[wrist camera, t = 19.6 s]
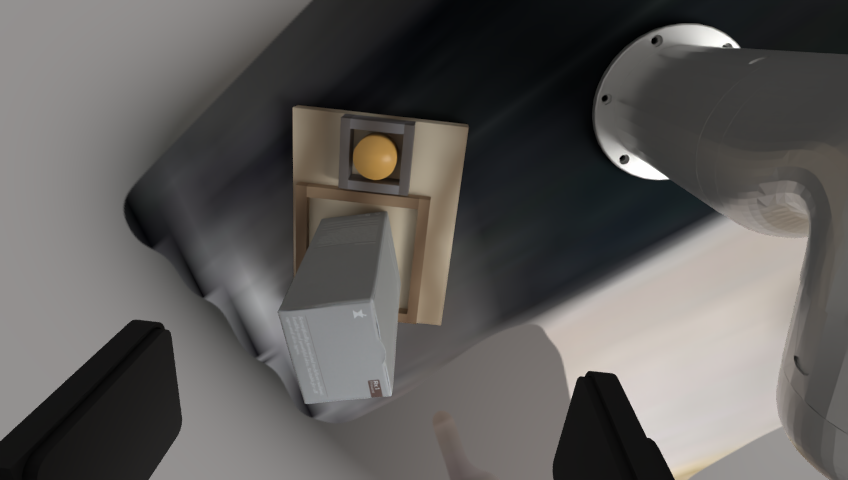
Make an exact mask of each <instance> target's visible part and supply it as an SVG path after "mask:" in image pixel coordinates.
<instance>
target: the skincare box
mask: <svg viewBox="0 0 848 480" xmlns="http://www.w3.org/2000/svg"><path fill="white" fill-rule="evenodd" d="M400 287H401V281H400V276H399V270H398V264H397V259H396V253H395V248H394V242H393V237H392V231H391V226H390V221H389V216H388V212H387V211H382V212H374V213H366V214H358V215H350V216H341V217H333V218H324V219H321V221H320V224H319V226H318V228H317V230H316V232H315V234H314V237H313V239H312V241H311V243H310V245H309V247H308V249H307V251H306V253H305V256H304V258H303V260H302V262H301V264H300V266H299V268H298V271H297V273H296V275H295V277H294V279H293V281H292V283H291V285H290V288H289V290H288V292H287V294H286V296H285V298H284V300H283V302H282V305H281V307H280V309H279V310H278V315H279V318H280V321H281V325H282V329H283V332H284V336H285V339H286V343H287V346H288V350H289V353H290V357H291V360H292V364H293V367H294V370H295V373H296V377H297V380H298V383H299V386H300V389H301V393H302V396H303V399H304V402H305V404H311V403H321V402H331V401H341V400H352V399H363V398H374V397H386V396H391V395H392V390H393V379H394V365H395V352H396V336H397V323H398V310H399V297H400Z"/></svg>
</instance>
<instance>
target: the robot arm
mask: <svg viewBox="0 0 848 480" xmlns="http://www.w3.org/2000/svg"><path fill="white" fill-rule="evenodd" d="M653 37H654V38H655V39H656V41H655V43H654V44H652V43H651V40H652V38H653ZM722 46H723V47H722ZM604 95H606V100H605V101H602V97H603V96H604ZM592 121H593V129H594V133H595V136H596V139H597V142H598V144H599V146H600V147H601V149H602V151H603V153H604V154H605V155H606V156H607V157H608V158H609V159H610V160H611V162H612V163H614V164H615V165H616V166H617V167H619V168H620V169H622V170H624V171H625V172H627V173H629V174H631V175H634V176H637V177H640V178H643V179H651V180H668V179H670V180H672V181H673V182H675V183H676V184H678V185H679V186H681V187H682V188H684V189H685V190H687V191H688V192H690V193H691V194H693V195H694V196H696V197H697V198H699V199H700V200H702V201H703V202H705V203H706V204H708V205H709V206H711V207H712V208H714V209H715V210H717V211H718V212H720V213H721V214H723V215H725V216H726V217H728V218H729V219H731V220H732V221H734V222H736V223H737V224H739V225H741V226H743V227H745V228H747V229H749V230H752V231H755V232H758V233H761V234H765V235H769V236H776V237H787V238H804V237H808V241H807V248H806V253H805V257H804V261H803V265H802V269H801V274H800V285H799V289H798V293H797V297H796V302H795V306H794V310H793V314H792V318H791V322H790V326H789V330H788V334H787V339H786V343H785V347H784V351H783V355H782V362H781V366H780V370H779V377H778V383H777V391H776V400H777V409H778V414H779V418H780V421H781V423H782V426H783V429H784V431H785V433H786V435H787V436H788V438H789V439H790V441H791V442H792V444H793V445H794V446H795V448H796V449H797V450H798V452H799V453H800V454H801V455H802V456H803V457H804V458H805V459H806V460H807V461H808V462H809V463H810V464H811V465H812V466H813V467H814V468H815V469H817V470H818V471H819V472H820V473H822V474H823V475H824V476H825V477H827V478H828V479H829V480H848V55H844V54H828V53H809V52H793V51H777V50H761V49H746V48H740V46H739V45H738V44H737V42H736V41H734V40H733V39H732V38H731V37H730V36H728V35H727V34H726V33H724V32H722V31H720V30H718V29H716V28H714V27H711V26H706V25H702V24H694V23H682V24H672V25H667V26H663V27H660V28H657V29H653V30H651V31H649V32H647V33H645V34H643V35H641V36H639V37H638V38H636V39H635V40H634V41H632V42H631V43H630V44H628V45H627V46H626V47H625V48H624V49H623V50H622V51H621V52H620V53H619V54H618V55H617V56H616V57H615V58H614V59H613V60H612V62H611V63H610V64H609V66H608V67H607V69H606V70H605V72H604V74H603V76H602V78H601V80H600V82H599V84H598V86H597V90H596V93H595V97H594V100H593V109H592ZM622 155H624V157H623V159H621V160H619V158H620V157H621V156H622ZM181 425H182V415H181V407H180V399H179V392H178V384H177V376H176V368H175V360H174V353H173V345H172V337H171V333H170V331H169V330H165V328H164V326H163V324H162V323H160V322H152V321H143V320H132V321H131V322H130V323H128V324H127V325H126V326H125V327H124V328H123V329H122V330H121V331H120V332H119V333H117V334H116V335H115V336H114V337H113V338H112V339H111V340H110V341H109V342H108V343H107V344H106V345H105V346H103V347H102V348H101V349H100V350H99V351H98V352H97V353H96V354H95V355H94V356H93V357H91V358H90V359H89V360H88V361H87V362H86V363H85V364H84V365H83V366H82V367H81V368H79V370H77V371H76V372H75V373H74V374H73V375H72V376H71V377H70V378H69V379H67V380H66V381H65V382H64V383H63V384H62V385H61V386H60V387H59V388H58V389H57V390H56V391H55V392H53V393H52V394H51V395H50V396H49V397H48V398H47V399H46V400H45V401H44V402H43V403H41V404H40V405H39V406H38V407H37V408H36V409H35V410H34V411H33V412H32V413H31V414H30V415H28V416H27V417H26V418H25V419H24V420H23V421H22V422H21V423H20V424H19V425H18V426H17V427H15V428H14V429H13V430H12V431H11V432H10V433H9V434H8V435H7V436H6V437H4V438H3V439H2V441H0V480H149V478H150V477H151V475H152V474H153V472H154V471H155V469H156V468H157V466H158V464H159V463H160V462H161V460H162V459H163V457H164V455H165V454H166V452H167V451H168V449H169V448H170V446H171V445H172V443H173V442H174V440H175V439H176V437H177V436H178V434H179V431H180V429H181ZM553 479H554V480H675V479H674V477H673V475H672V473H671V471H670V469H669V467H668V465H667V463H666V461H665V459H664V458H663V456H662V454H661V452H660V450H659V448H658V446H657V445H656V443H655V442H654V441H653V440H652V439H650V438H647V437H646V435H645V433H644V431H643V429H642V427H641V425H640V423H639V421H638V419H637V417H636V414H635V412H634V410H633V408H632V406H631V404H630V402H629V400H628V398H627V396H626V394H625V392H624V390H623V388H622V386H621V384H620V382H619V380H618V378H617V376H616V375H615V374H612V373H603V372H594V371H588V372H587V373H586V375H585V377H579V378H578V379H577V382H576V385H575V389H574V392H573V396H572V399H571V403H570V406H569V409H568V413H567V416H566V420H565V423H564V427H563V430H562V434H561V437H560V440H559V444H558V447H557V451H556V454H555V458H554V461H553Z"/></svg>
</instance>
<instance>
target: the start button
mask: <svg viewBox="0 0 848 480" xmlns="http://www.w3.org/2000/svg"><path fill="white" fill-rule="evenodd" d="M397 160H398V148H397V145H396V143H395V142H394V140H393V139H392V138H391V137H389V136H388V135H386V134H383V133H379V132H375V133H370V134H368V135H366V136H365V137H363V138H362V140H361V141H360V142H359V143H358V145H357V146H356V148H355V150H354V153H353V162H354V165H355V168H356V169H357V171H358V172H359V173H360V174H361V175H362V176H364V177H366V178H368V179H372V180H380V179H383V178H386V177H387V176H389V175H390V174H391V173H392V172H393V170H394V168H395V166H396V163H397Z"/></svg>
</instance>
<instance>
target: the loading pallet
mask: <svg viewBox="0 0 848 480" xmlns="http://www.w3.org/2000/svg"><path fill="white" fill-rule="evenodd" d="M468 128H469V127H468V124H460V123H452V122H443V121H434V120H425V119H416V118H408V117H399V116H390V115H381V114H372V113H364V112H355V111H346V110H337V109H328V108H320V107H311V106H302V105H297V106H295V107H293V244H294V277H295V275H296V273H297V271H298V268H299V266H300V264H301V262H302V260H303V258H304V256H305V253H306V251H307V249H308V247H309V245H310V243H311V241H312V239H313V237H314V234H315V232H316V230H317V228H318V226H319V224H320V221H321V219H324V218H333V217H341V216H350V215H358V214H366V213H374V212H382V211H387V212H388V216H389V221H390V226H391V231H392V237H393V242H394V248H395V253H396V259H397V264H398V270H399V276H400V281H401V287H400V297H399V310H398V322H403V323H412V324H416V323H424V324H433V325H441V320H442V313H443V306H444V299H445V292H446V285H447V278H448V270H449V263H450V256H451V249H452V242H453V235H454V228H455V221H456V213H457V206H458V199H459V192H460V185H461V178H462V171H463V163H464V156H465V149H466V142H467V135H468ZM375 132H379V133H383V134H386V135H388V136H389V137H391V138H392V139H393V140H394V142H395V143H396V145H397V148H398V160H397V163H396V166H395V168H394V170H393V172H392V173H391V174H390V175H389V176H387V177H386V178H383V179H380V180H372V179H368V178H366V177H364V176H362V175H361V174H360V173H359V172H358V171H357V169H356V168H355V165H354V162H353V153H354V150H355V148H356V146H357V145H358V143H359V142H360V141H361V140H362V138H363V137H365V136H366V135H368V134H370V133H375Z"/></svg>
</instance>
